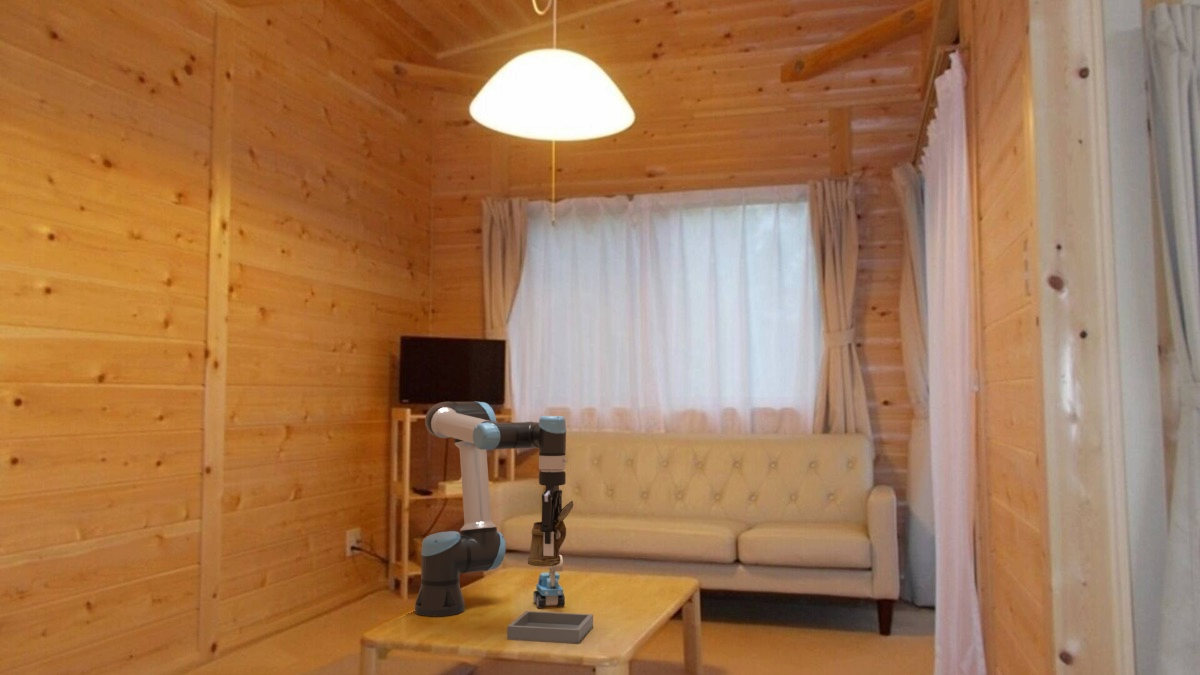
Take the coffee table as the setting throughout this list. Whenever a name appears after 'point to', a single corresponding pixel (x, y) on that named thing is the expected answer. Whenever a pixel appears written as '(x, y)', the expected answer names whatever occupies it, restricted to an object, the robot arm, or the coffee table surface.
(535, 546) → the wooden mug
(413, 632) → the coffee table surface
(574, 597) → the coffee table surface
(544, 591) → the toy excavator
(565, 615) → the slate tray
